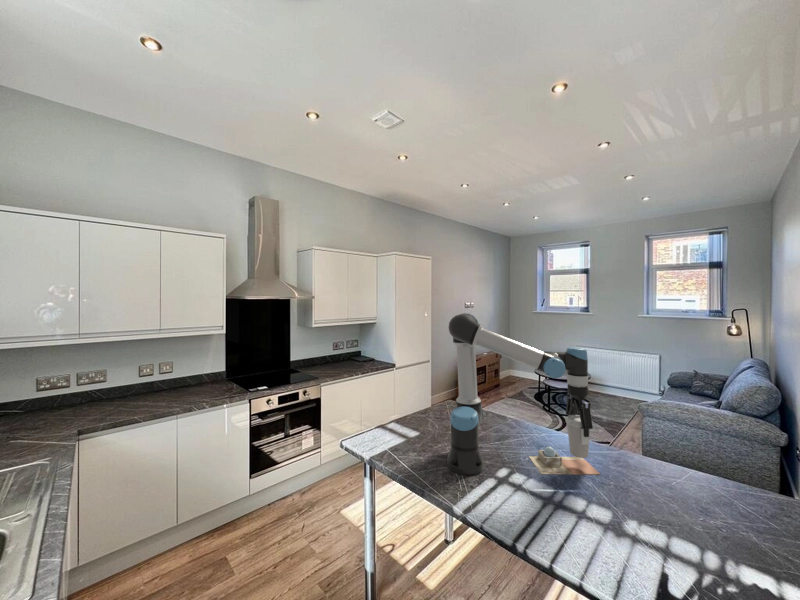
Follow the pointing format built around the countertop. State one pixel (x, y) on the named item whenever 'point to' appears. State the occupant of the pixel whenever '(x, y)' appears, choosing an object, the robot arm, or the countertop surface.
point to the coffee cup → (576, 437)
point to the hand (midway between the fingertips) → (578, 438)
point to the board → (562, 465)
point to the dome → (549, 452)
